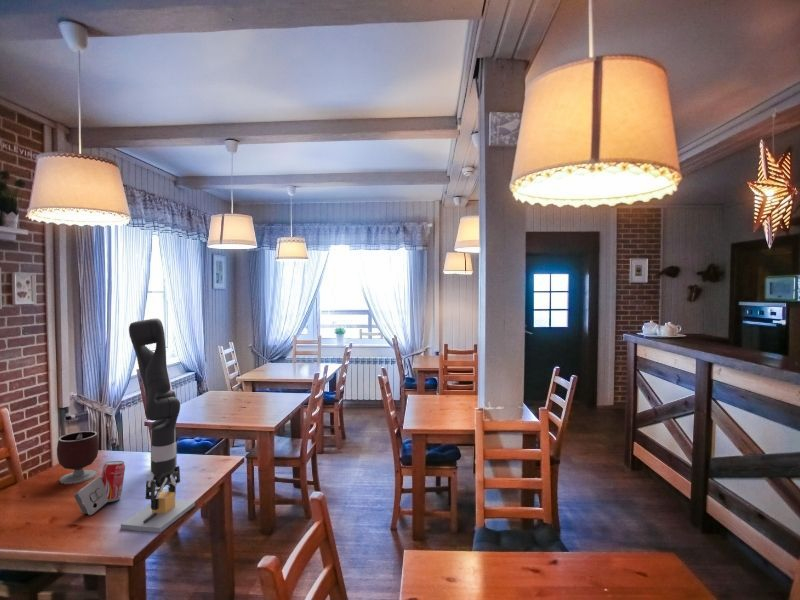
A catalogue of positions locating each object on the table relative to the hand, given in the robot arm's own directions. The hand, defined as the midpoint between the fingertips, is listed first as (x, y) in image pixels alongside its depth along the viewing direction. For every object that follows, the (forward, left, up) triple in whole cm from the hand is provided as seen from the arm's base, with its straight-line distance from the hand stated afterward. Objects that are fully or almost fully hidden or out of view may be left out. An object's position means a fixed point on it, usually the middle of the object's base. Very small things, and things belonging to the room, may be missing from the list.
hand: (163, 503), depth 153 cm
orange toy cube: (0, 0, -2) cm, 2 cm away
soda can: (-5, -25, -3) cm, 26 cm away
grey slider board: (+2, 0, -4) cm, 4 cm away
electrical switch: (+1, -26, -3) cm, 26 cm away
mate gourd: (-21, -54, -4) cm, 58 cm away
